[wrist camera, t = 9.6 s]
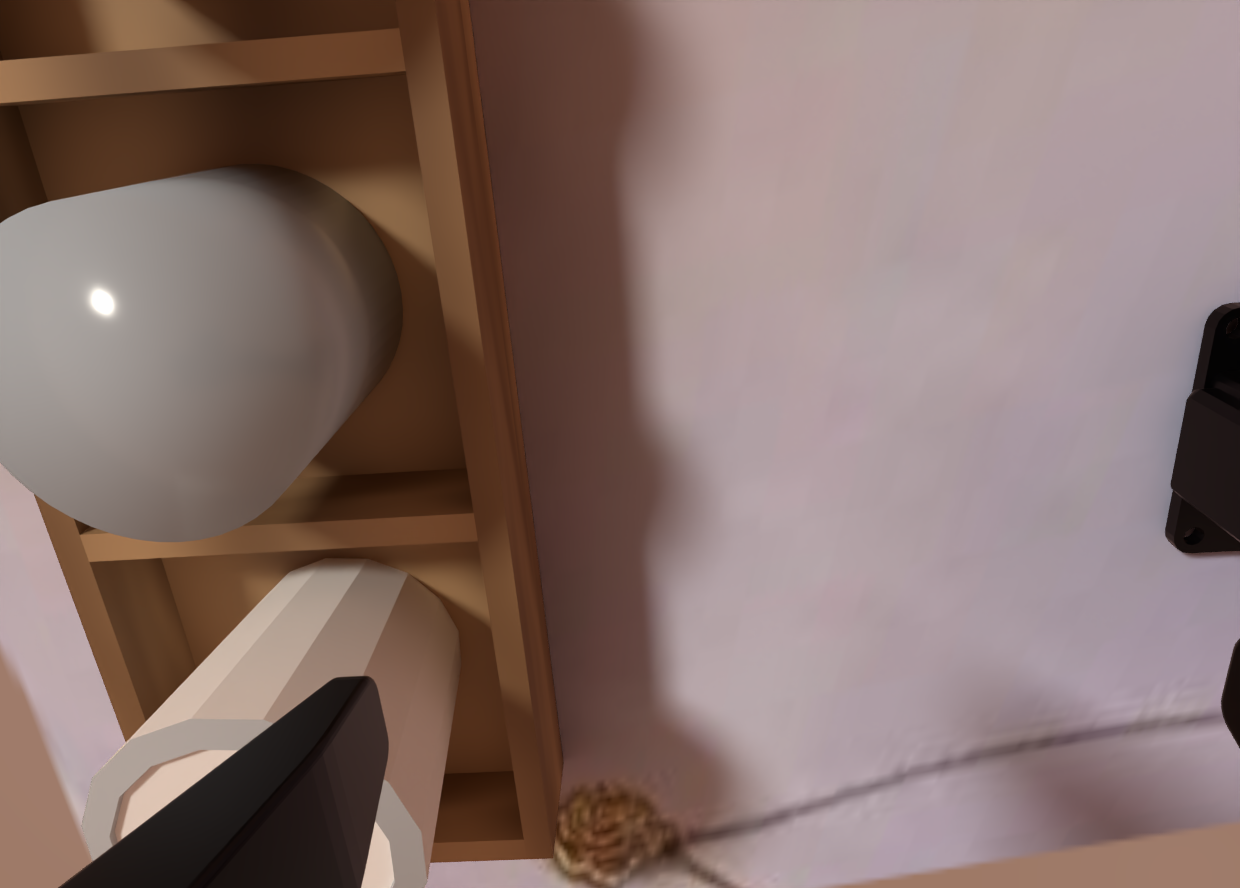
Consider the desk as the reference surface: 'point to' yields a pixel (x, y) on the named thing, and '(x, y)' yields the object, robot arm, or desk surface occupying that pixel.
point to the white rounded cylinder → (187, 345)
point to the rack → (394, 410)
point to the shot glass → (284, 677)
